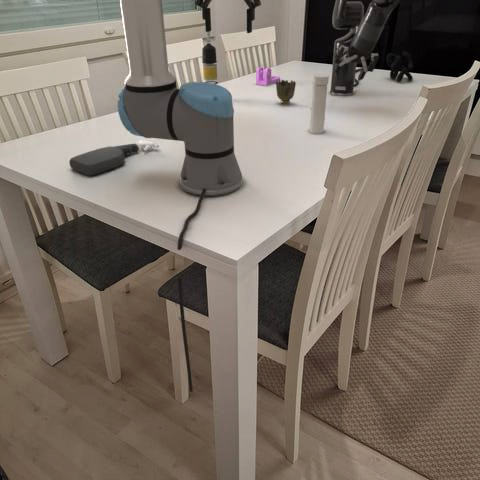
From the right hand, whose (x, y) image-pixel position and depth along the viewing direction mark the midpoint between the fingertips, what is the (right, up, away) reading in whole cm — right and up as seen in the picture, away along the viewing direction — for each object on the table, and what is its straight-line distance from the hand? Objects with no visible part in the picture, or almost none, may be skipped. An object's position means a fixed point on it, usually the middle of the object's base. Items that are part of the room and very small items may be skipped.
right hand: (347, 76), depth 159 cm
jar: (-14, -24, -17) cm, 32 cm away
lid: (-14, -9, -26) cm, 31 cm away
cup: (-21, -6, +11) cm, 25 cm away
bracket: (-25, +13, +42) cm, 51 cm away
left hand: (-42, +6, -21) cm, 47 cm away
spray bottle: (-73, -36, -35) cm, 88 cm away
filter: (-50, -2, +19) cm, 54 cm away
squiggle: (+33, +13, +41) cm, 55 cm away
